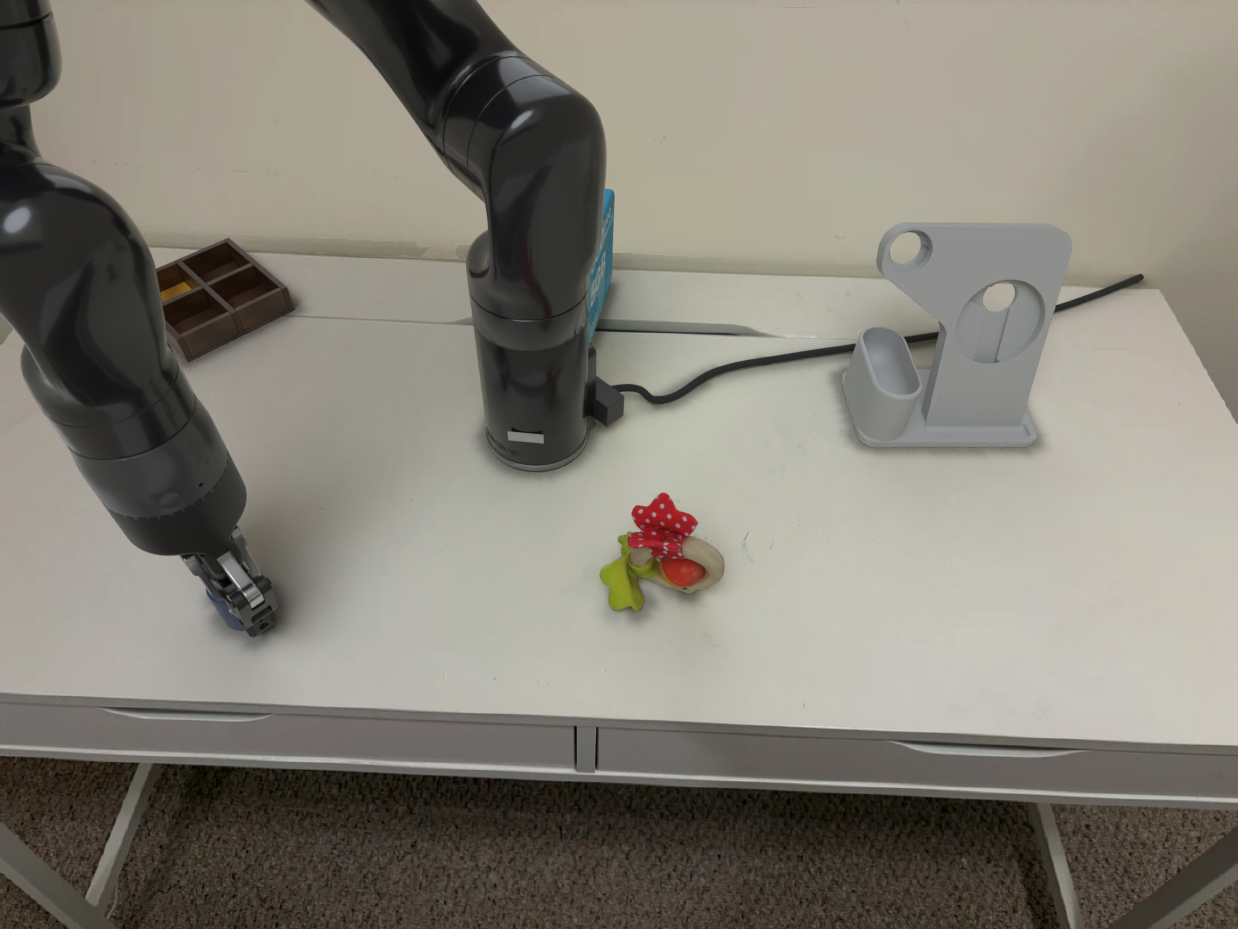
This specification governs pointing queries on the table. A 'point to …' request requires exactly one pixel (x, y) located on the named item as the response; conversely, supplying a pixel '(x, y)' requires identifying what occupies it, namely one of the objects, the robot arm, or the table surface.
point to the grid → (217, 298)
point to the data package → (602, 264)
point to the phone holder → (960, 338)
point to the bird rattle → (661, 555)
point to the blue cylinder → (225, 612)
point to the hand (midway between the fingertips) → (247, 608)
